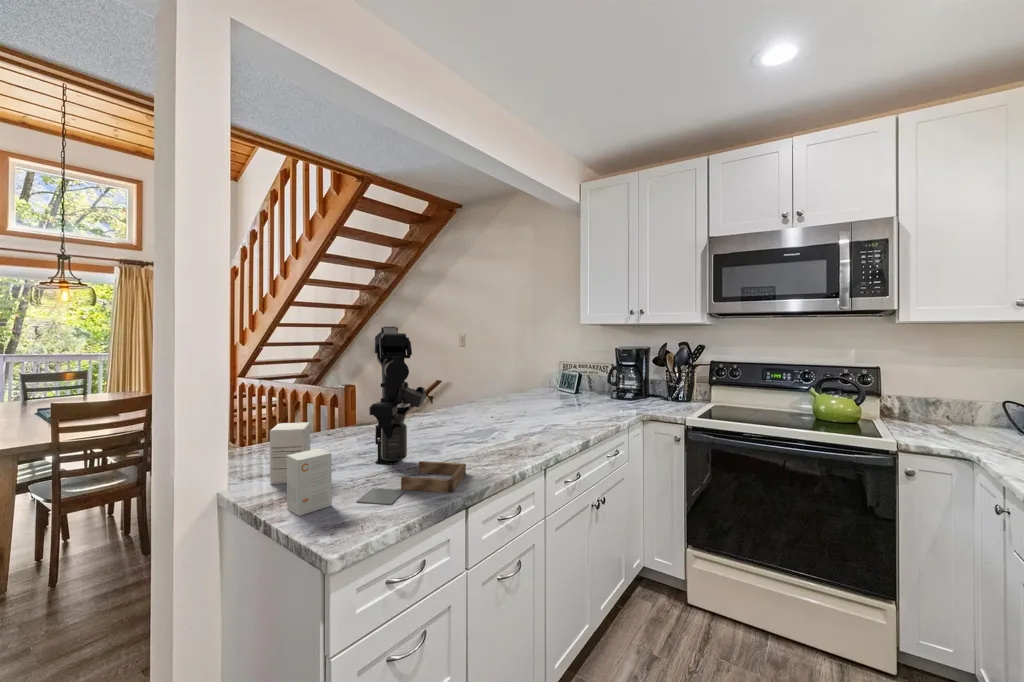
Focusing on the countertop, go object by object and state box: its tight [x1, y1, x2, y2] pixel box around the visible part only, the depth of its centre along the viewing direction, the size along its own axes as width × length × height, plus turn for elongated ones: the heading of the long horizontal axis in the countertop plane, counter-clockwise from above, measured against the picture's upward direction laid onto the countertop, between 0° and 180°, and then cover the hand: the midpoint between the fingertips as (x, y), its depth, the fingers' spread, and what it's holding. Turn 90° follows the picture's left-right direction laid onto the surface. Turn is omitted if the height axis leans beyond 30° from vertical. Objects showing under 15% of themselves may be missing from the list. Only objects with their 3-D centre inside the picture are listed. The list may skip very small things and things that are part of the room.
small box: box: [286, 448, 333, 517], centre depth 105 cm, size 8×6×13 cm
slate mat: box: [356, 487, 406, 506], centre depth 112 cm, size 9×9×1 cm
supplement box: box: [269, 421, 311, 485], centre depth 125 cm, size 9×9×15 cm
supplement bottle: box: [381, 413, 408, 461], centre depth 121 cm, size 7×7×12 cm
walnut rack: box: [400, 460, 467, 494], centre depth 124 cm, size 14×15×3 cm
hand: (394, 435), depth 121 cm, fingers closed on supplement bottle, 7 cm apart
